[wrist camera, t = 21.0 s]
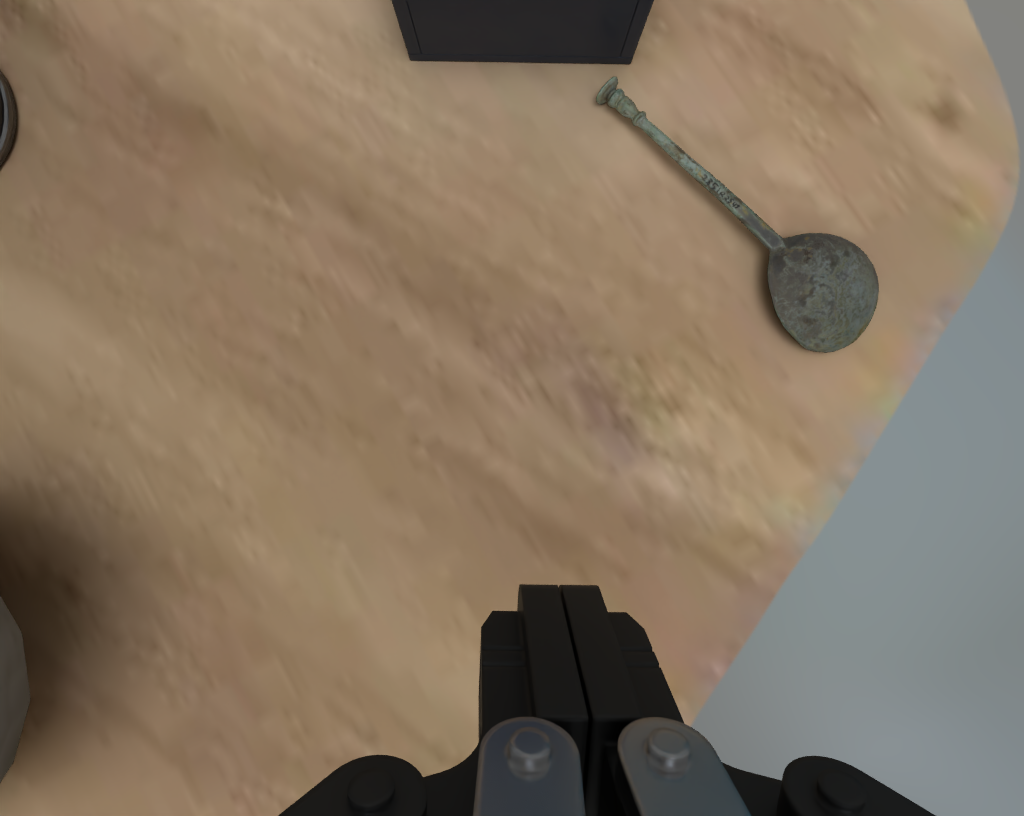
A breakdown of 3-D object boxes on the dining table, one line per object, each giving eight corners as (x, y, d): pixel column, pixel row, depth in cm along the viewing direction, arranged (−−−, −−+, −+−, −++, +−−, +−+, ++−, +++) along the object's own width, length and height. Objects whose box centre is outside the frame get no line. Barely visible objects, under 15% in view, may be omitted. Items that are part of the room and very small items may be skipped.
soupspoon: (815, 376, 41) (884, 301, 41) (845, 374, 37) (921, 293, 38) (566, 130, 39) (639, 54, 40) (575, 106, 36) (654, 22, 36)
